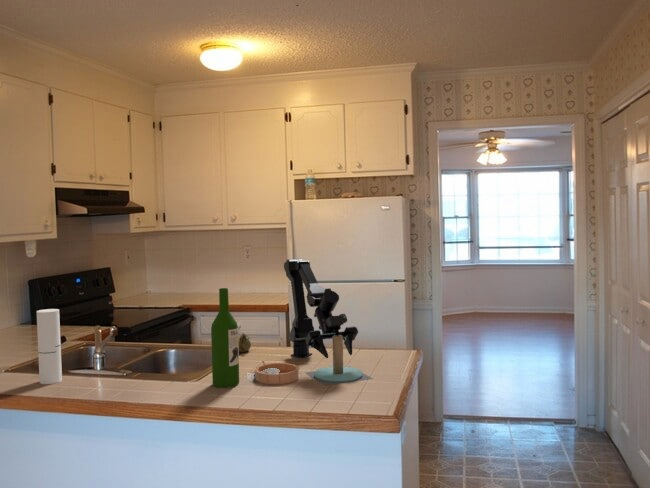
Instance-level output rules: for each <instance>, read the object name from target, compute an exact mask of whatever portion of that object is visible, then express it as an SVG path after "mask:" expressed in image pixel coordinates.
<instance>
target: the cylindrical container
mask: <svg viewBox="0 0 650 488" xmlns="http://www.w3.org/2000/svg"><path fill="white" fill-rule="evenodd" d="M60 318H61V317H60V308H59V309H58V308H47V309H39V310H36V327H37V328H36V330H37V349H38V351H37V352H38V374H39V376H38V377H39V384H41V385H51V384H52V385H53V384H58V383H60V382H62V380H63V372H62V370H63V369H62V348H61V347H62V346H61V325H60V324H61V323H60Z"/></svg>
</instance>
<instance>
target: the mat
mask: <svg viewBox="0 0 650 488" xmlns="http://www.w3.org/2000/svg"><path fill="white" fill-rule="evenodd" d="M348 367H351V366H348ZM315 371H316V370H315ZM315 371H313V370H312V371H306V372H305V374H306V375H308V376H309V377H311V378H313V379H314V380H316V381H317V382H318V383H321V384H322V385H323V386H325V387H328V386H333V385H341V384H345V383H346V384H347V383H353V382H361V381H366V380H367V381H368V380H374V378H373V377H371V376H370V375H367V374H365V373H363V376H362V377H361V378H360V379H358V380H355V381H350V382H338V383H337V382H325V381H321V380H318V379H316V378H315V377H314V372H315Z"/></svg>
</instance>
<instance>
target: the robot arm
mask: <svg viewBox="0 0 650 488" xmlns="http://www.w3.org/2000/svg"><path fill="white" fill-rule="evenodd" d="M283 270H284V272H285V276H286V277H287V278H288V280H289V281H290V285H291V293H292V294H291V295H292V301H293V302H292V303H293V309H294V319H293V321H292V323H291V329H290V332H289V334H288V337H289V340H288V341H290V342H292V343H293V348H292V350H293V351H292V352H293V353H291V354H290V356H291V357H296V358H302V359H304V358H306V357H309V356H311V355H313V352H310V348H314V349H315V350H316V351H318V353H320V354H321V355H322V356H323V357H324V358H325V359H328V358H329V354H328V351H327V348H326V346H325V344H324V340H331V339H332V340H333V336H334V335H342V336H343V345H344V346H345V348H346V350H347V352H348V354H349V355H350V356H352V355H353V341H355V340H356V337H357V336H358V334H359V330H358V329H359V328H357V326H346V327H345V328H344V330H343V331H339V330H341V329H342V326H344V324H346V323H347V322H348V317H347V314H346V313H340V314H338V315H333V311H334V310H335V308H336V306H337V304H338V302H339V301H340V295H339V294H338V293H337V292H336V291H334V290H332V289H331V288H330V287H329V288H325V287H323V286H321V285H320V284H319V283H318V280H317V278H316V276H315V274H314V272H313V270H312V268H311V262H310V260H307V259H303V258H294V259H293V258H291V259H289V258H288V259H286V260H285V261H284V263H283ZM304 286H305V289H306V291H307V294H306V296H305V291H304ZM305 298H306V299H305ZM306 302H307V304H308V305H309V307H310V308H315V307H316V308H315V309H314V313H313V317H314V318H316V319H317V322H318V324H319V325H318V329H319V330H317V329H316V330H315V327H314V326H313V325H314V323H313V319H312V317H311V318H310V316H309V315H308V314H307V307H306V306H307V305H306Z"/></svg>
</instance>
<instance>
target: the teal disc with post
mask: <svg viewBox="0 0 650 488" xmlns="http://www.w3.org/2000/svg"><path fill="white" fill-rule="evenodd" d="M363 374H364V372H363V371H362V370H361V369H359V368H357V367H351V366H350V367H349V366H344V340H343V336H342V335H334V336H333V339H332V366H327V367H322V368H319V369H316V370H315V372H314V377H315V378H316V379H318V380H321V381H325V382H337V383H338V382H348V383H351V382H350V381H355V380H358V379H360V378H361V377H362V376H363ZM316 379H315V380H316ZM355 382H356V381H355Z"/></svg>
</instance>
